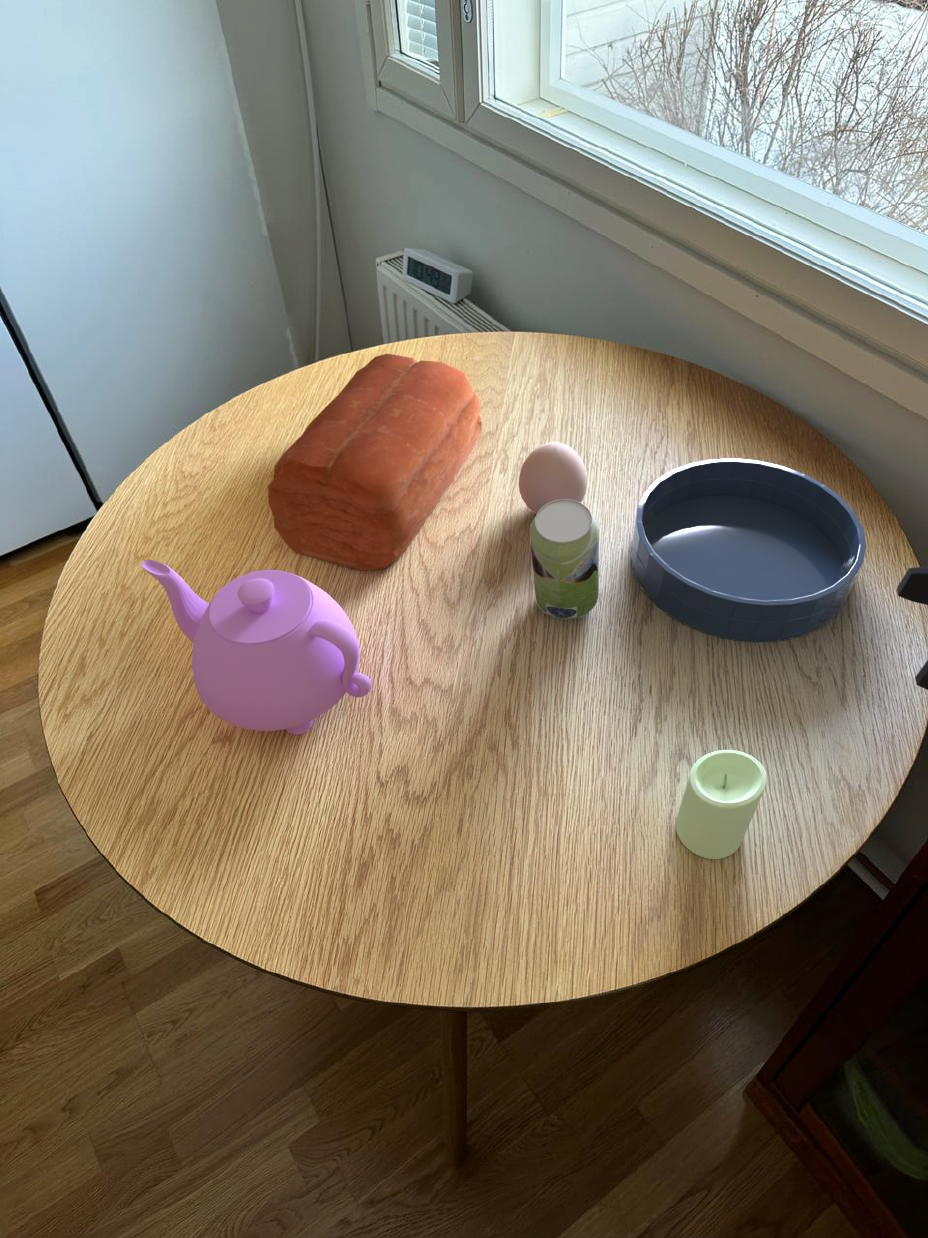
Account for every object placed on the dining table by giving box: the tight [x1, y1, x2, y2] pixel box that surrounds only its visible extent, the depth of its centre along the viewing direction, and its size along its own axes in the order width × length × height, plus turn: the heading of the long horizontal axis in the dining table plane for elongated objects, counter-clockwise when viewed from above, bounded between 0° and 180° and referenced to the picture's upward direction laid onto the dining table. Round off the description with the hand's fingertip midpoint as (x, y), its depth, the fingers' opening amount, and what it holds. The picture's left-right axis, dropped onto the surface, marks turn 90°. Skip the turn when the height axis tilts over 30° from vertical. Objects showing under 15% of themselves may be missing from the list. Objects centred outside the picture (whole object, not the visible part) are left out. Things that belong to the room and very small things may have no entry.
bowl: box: [630, 457, 867, 643], centre depth 81 cm, size 21×21×5 cm
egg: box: [518, 441, 588, 515], centre depth 86 cm, size 7×7×8 cm
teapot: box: [141, 559, 373, 736], centre depth 70 cm, size 20×14×12 cm
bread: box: [267, 353, 483, 571], centre depth 89 cm, size 16×27×11 cm, turn 158°
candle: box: [675, 749, 768, 860], centre depth 60 cm, size 5×5×8 cm
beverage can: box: [528, 499, 600, 621], centre depth 75 cm, size 6×7×12 cm
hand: (912, 624), depth 51 cm, fingers open, 7 cm apart
